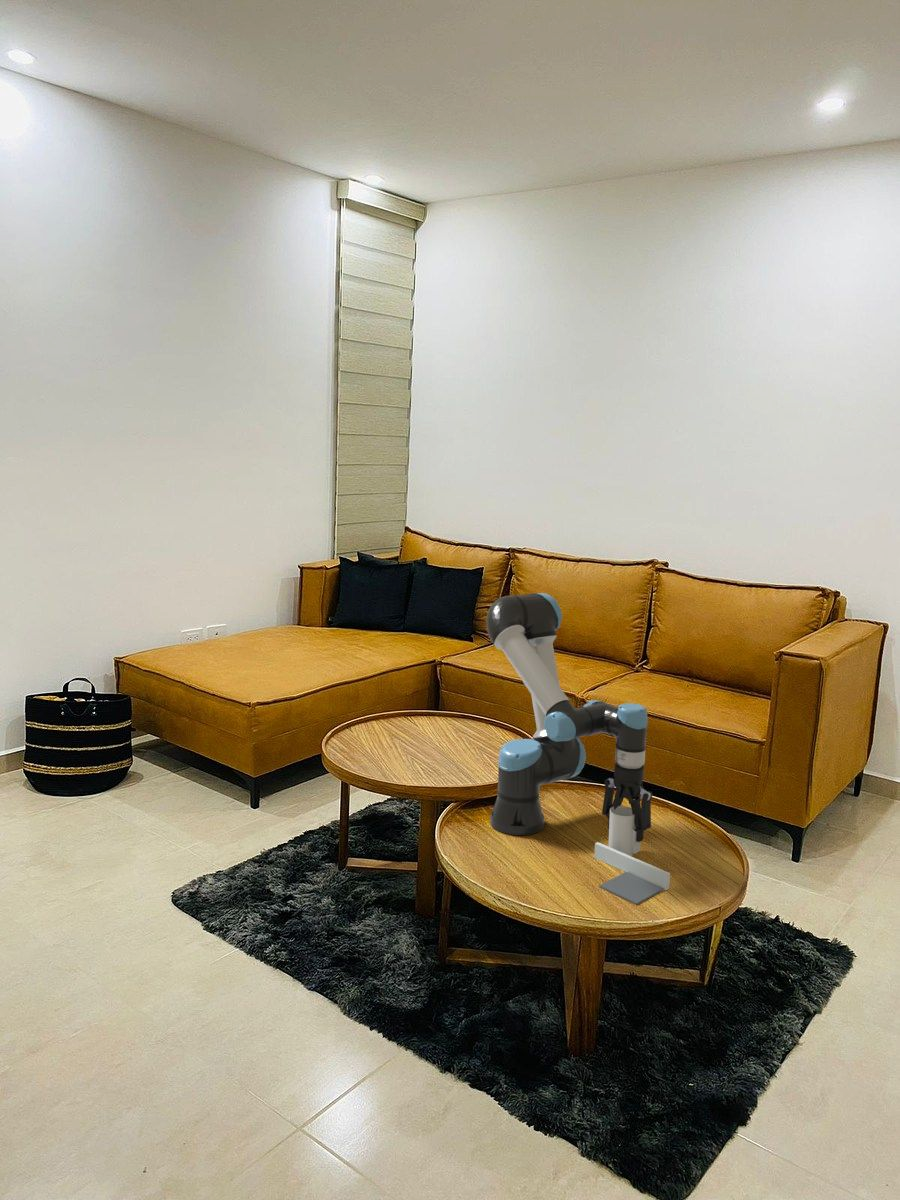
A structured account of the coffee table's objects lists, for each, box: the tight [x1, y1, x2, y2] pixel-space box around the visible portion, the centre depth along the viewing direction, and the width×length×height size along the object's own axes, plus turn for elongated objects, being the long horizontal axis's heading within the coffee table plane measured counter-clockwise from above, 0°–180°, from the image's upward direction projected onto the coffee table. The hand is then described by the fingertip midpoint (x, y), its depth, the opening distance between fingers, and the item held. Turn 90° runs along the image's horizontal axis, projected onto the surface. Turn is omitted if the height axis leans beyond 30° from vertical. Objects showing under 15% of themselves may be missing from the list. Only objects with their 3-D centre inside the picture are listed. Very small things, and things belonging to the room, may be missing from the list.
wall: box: [593, 841, 671, 891], centre depth 224 cm, size 22×1×4 cm, turn 43°
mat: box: [598, 871, 665, 906], centre depth 216 cm, size 11×11×1 cm
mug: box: [608, 805, 635, 857], centre depth 234 cm, size 10×7×12 cm, turn 137°
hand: (624, 847), depth 235 cm, fingers closed on mug, 6 cm apart
